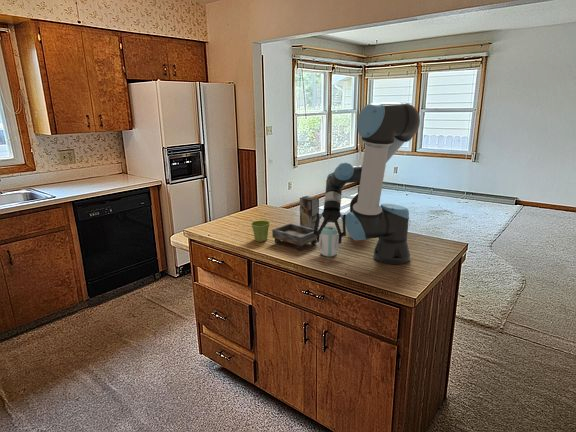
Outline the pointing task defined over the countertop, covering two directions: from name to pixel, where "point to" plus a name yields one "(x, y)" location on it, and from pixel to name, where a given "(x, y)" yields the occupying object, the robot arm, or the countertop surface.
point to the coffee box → (308, 211)
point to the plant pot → (260, 230)
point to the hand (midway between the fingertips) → (328, 249)
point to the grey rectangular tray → (294, 235)
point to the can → (328, 241)
